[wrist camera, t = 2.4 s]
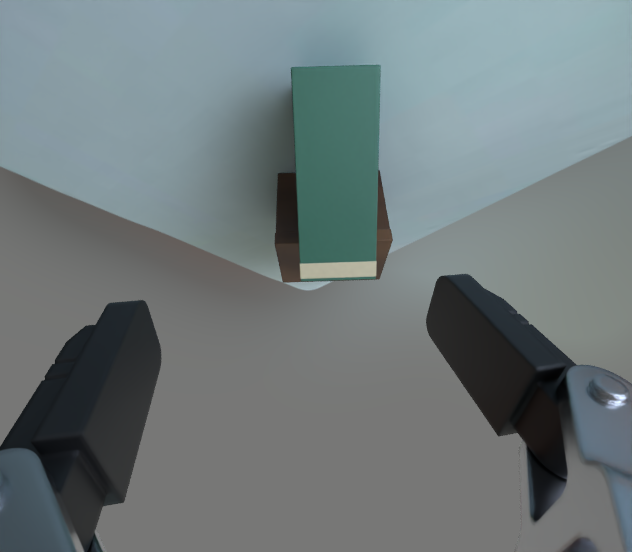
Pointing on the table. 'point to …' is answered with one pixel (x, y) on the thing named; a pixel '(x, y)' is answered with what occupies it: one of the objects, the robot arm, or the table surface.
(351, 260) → the green block
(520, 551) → the robot arm
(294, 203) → the walnut box
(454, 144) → the table surface
